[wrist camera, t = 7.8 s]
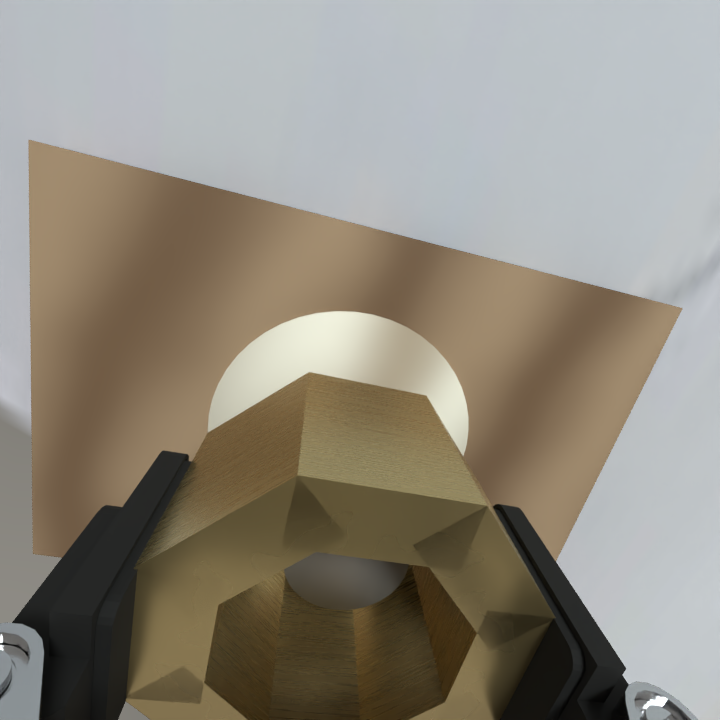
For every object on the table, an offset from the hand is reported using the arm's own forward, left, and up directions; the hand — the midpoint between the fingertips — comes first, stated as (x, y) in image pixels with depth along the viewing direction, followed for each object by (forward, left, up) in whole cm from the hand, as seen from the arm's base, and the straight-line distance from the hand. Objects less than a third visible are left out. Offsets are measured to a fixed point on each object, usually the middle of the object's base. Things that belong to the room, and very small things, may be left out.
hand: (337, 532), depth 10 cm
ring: (0, 0, -1) cm, 1 cm away
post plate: (0, 0, -6) cm, 6 cm away
